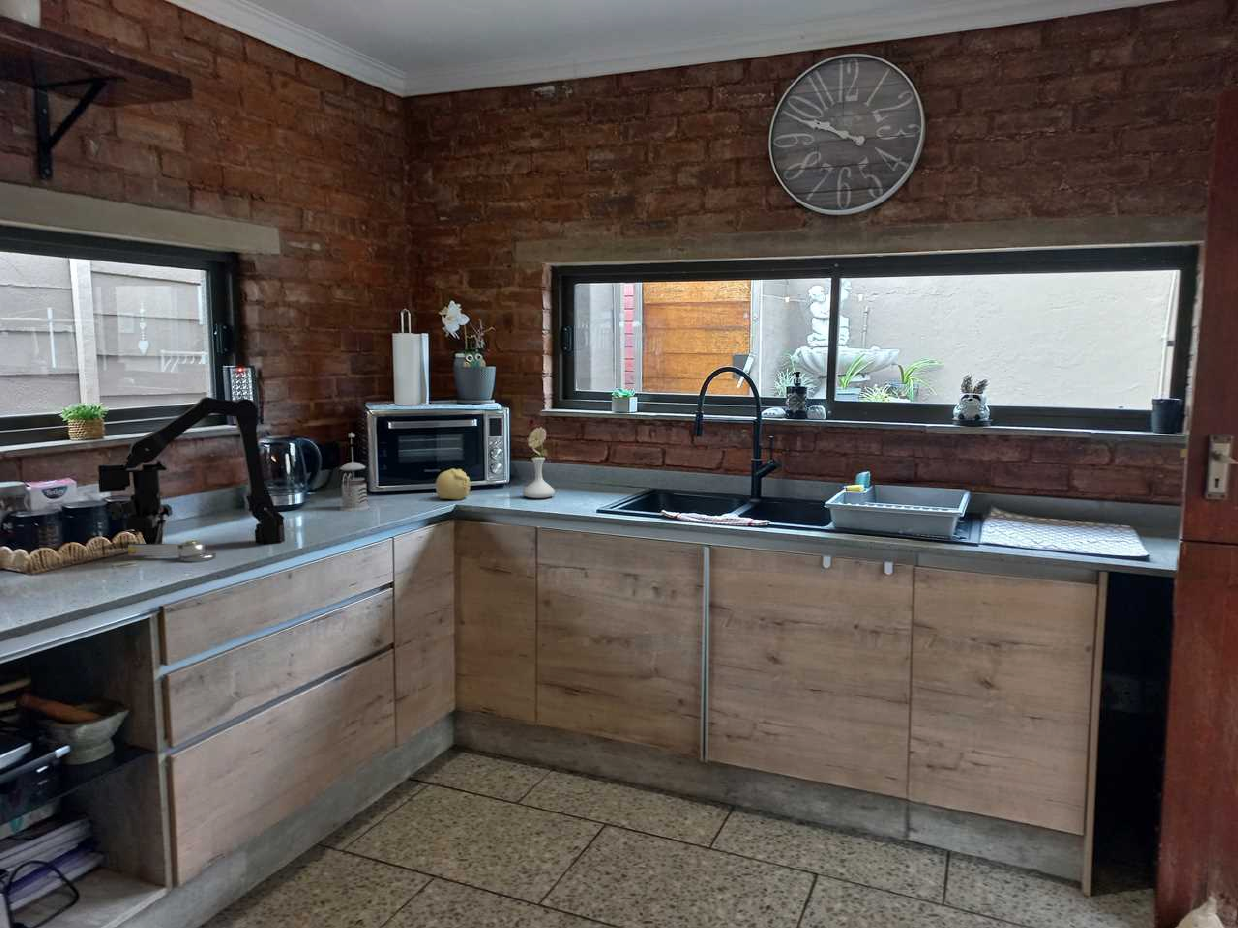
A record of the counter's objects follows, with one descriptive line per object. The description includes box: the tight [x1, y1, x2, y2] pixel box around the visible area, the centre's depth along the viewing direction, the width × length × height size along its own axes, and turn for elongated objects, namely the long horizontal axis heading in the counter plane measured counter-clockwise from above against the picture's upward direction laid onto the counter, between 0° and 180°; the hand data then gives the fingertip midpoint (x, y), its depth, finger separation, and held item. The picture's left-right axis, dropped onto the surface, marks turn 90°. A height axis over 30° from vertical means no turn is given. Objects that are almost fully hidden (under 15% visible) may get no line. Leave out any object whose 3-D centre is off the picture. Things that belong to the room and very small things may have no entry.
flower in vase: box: [522, 426, 556, 499], centre depth 303 cm, size 13×11×25 cm
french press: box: [339, 432, 371, 512], centre depth 284 cm, size 10×12×25 cm
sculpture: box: [435, 467, 472, 500], centre depth 303 cm, size 11×12×11 cm
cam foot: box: [127, 540, 217, 563], centre depth 215 cm, size 21×8×4 cm, turn 88°
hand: (151, 550), depth 217 cm, fingers closed
